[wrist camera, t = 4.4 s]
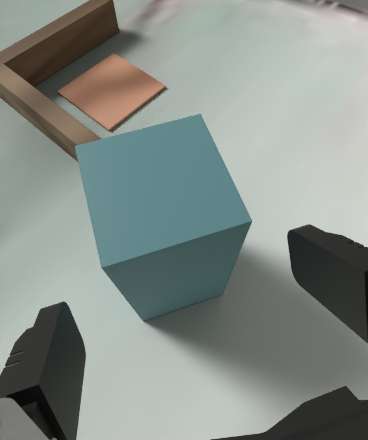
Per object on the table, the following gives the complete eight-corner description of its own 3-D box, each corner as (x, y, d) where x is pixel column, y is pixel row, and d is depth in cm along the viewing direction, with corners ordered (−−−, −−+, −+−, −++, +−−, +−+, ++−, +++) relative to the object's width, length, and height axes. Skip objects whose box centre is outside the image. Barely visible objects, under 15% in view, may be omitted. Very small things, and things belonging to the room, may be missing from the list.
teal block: (143, 321, 19) (101, 267, 10) (123, 246, 21) (74, 146, 12) (222, 294, 19) (252, 220, 10) (195, 224, 21) (200, 113, 12)
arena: (209, 85, 27) (211, 53, 25) (97, 177, 23) (85, 151, 20) (109, 26, 31) (102, -7, 29) (-2, 95, 27) (-23, 65, 24)
